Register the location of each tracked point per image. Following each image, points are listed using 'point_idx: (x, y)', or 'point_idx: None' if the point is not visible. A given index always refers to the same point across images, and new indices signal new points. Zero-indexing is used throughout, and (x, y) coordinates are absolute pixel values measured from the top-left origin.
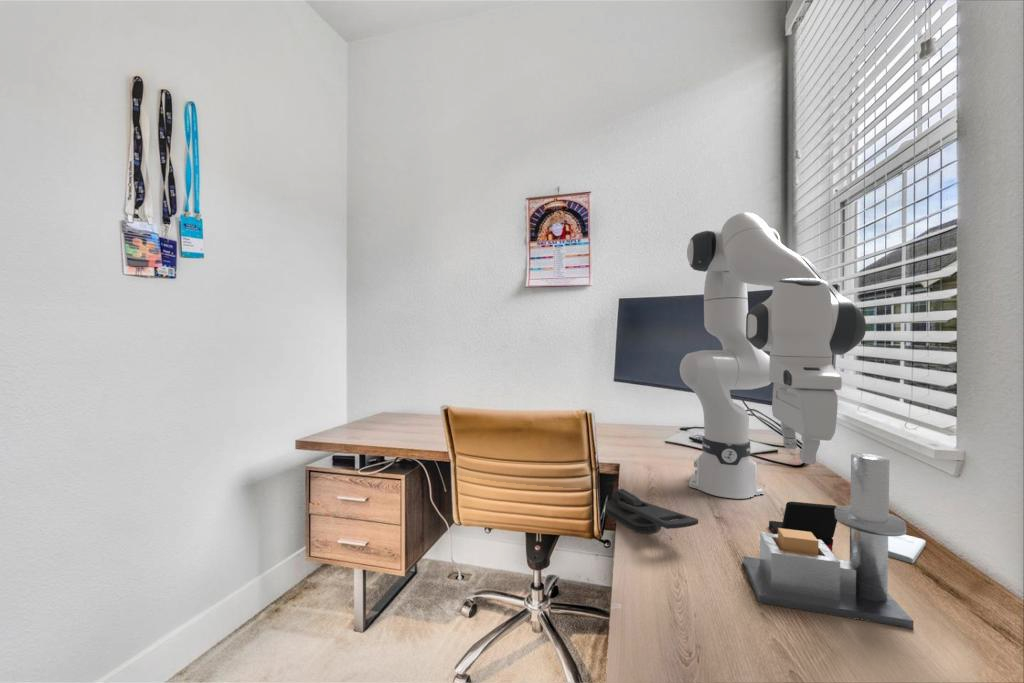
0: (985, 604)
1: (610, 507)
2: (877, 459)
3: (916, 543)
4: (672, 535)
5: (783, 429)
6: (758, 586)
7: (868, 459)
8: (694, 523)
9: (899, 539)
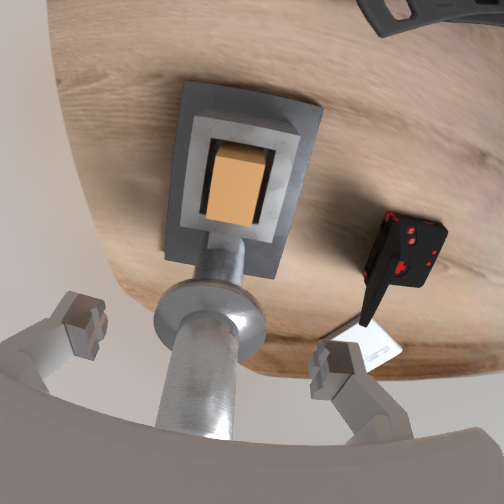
0: None
1: None
2: None
3: None
4: (419, 27)
5: (376, 407)
6: (212, 88)
7: None
8: (370, 23)
9: (368, 356)
